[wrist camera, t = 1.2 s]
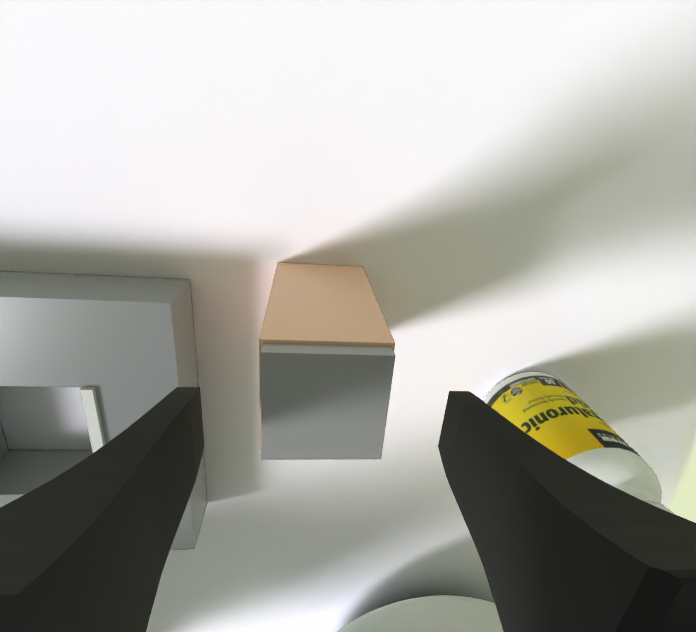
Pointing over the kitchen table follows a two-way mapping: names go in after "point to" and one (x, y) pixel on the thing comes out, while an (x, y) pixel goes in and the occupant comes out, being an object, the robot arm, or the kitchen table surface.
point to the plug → (323, 365)
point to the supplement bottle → (573, 432)
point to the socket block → (96, 363)
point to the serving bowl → (430, 616)
